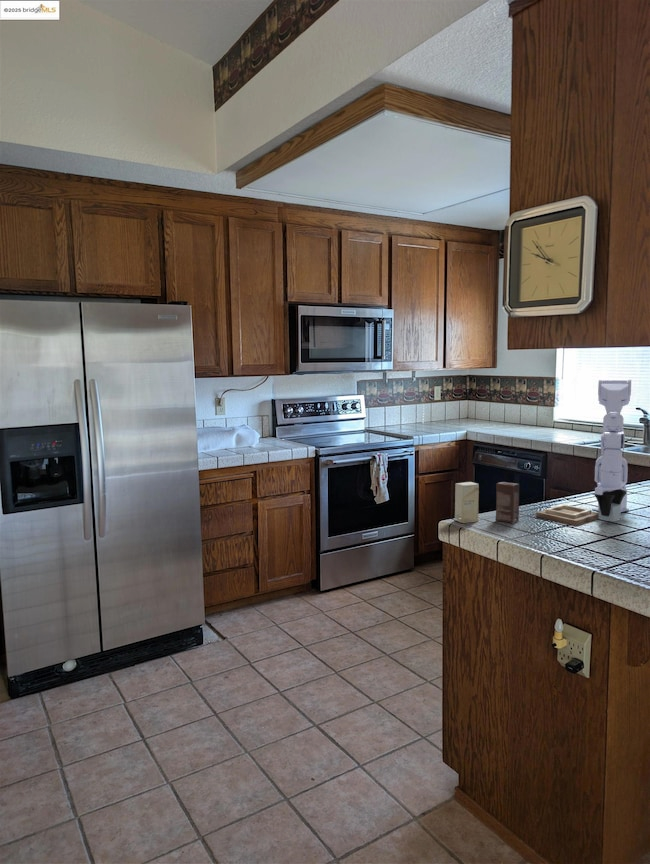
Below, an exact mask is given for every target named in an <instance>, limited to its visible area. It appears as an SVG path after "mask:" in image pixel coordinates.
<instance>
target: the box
mask: <svg viewBox="0 0 650 864" xmlns="http://www.w3.org/2000/svg"><path fill="white" fill-rule="evenodd" d="M495 488H496V493H495V494H496V496H495V497H496V498H495V500H496V501H495V521H499V522H506V523H511V524H515V523H517V522H519V520H520V519H519V510H520V483H514V482H506V481H501V482H497V483H496V487H495Z"/></svg>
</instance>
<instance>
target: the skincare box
mask: <svg viewBox="0 0 650 864" xmlns="http://www.w3.org/2000/svg"><path fill="white" fill-rule="evenodd" d="M479 488H480V486H479V483H477V482H472V481H465V482H458V483H457V482H456V483H455V487H454V489H455V492H454V499H455V500H454V501H455V502H454V520H455V519H457V520H455V521H456V522H458V523H460V524H465V523H475V522H479V494H480V491H479V490H480V489H479ZM459 518H461V519H459Z"/></svg>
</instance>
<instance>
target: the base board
mask: <svg viewBox="0 0 650 864" xmlns="http://www.w3.org/2000/svg"><path fill="white" fill-rule="evenodd" d="M535 517H536V518H540V519H545V520H549V521H554V522H559V523H561V524H562V523H563V524H567V525H572V526H575V525H576V526H579V525H583V524H585V523H590V522H592V520H593V521H595V519H596V520H599V519H598V518H599V512H597V511H596V512H595V511H592V509H587V508H584V507H578V506H577V507H576V506H574V505H573V506H572V505H567V504H559V505H556V506H552V507H549V508H545V509H542V510H539V511H536V512H535Z"/></svg>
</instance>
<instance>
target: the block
mask: <svg viewBox="0 0 650 864" xmlns="http://www.w3.org/2000/svg"><path fill="white" fill-rule="evenodd" d="M598 513H599V518H598V519H597V520H604V521H608V522H615V521H618V520H621V513H622V512H621V505H620V504H614V503H612V504H611V509H610V514H609V516H603V515H601V511H600V507H599V511H598Z"/></svg>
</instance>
